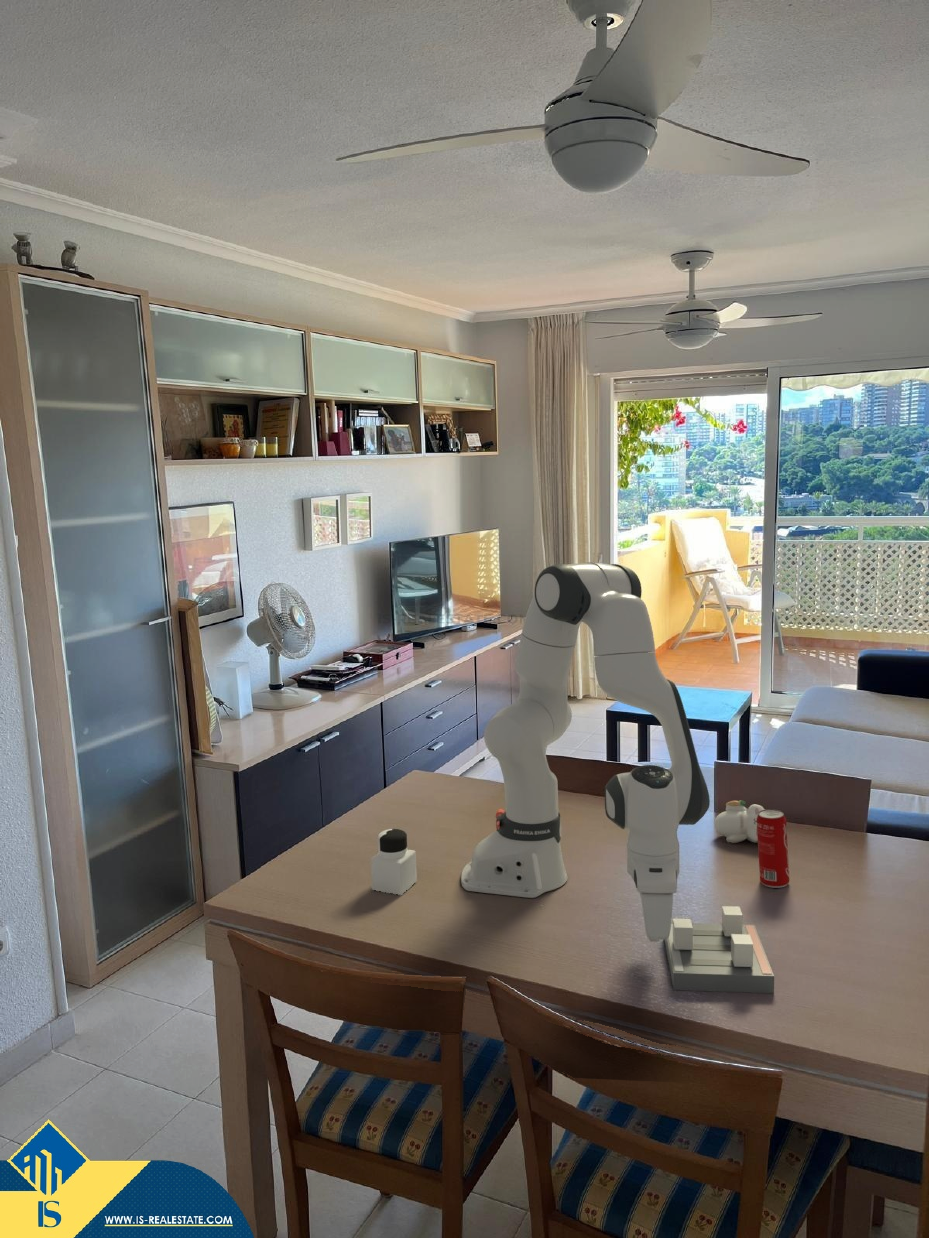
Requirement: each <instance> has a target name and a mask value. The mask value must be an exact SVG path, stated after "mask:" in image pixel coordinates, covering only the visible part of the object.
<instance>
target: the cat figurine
mask: <svg viewBox="0 0 929 1238" xmlns="http://www.w3.org/2000/svg"><path fill="white" fill-rule="evenodd" d="M725 806H726V807H725V811H722V812H721V813H719V814H718V815H717V816H716V817H715V819H714V822H713V823H714V826H713V827H714V828H715V830H716V832H717V833H719V834H720V835H721V836H724V838H726V842H727V843H729V842H732V843H731V844H737V843H741V842H743V841H745V840H747V841H750V842H751V843H757V844H758V837H757V817H758V812H760V811H762V810H766V809H765V808H764V807H763V806H762V805H759V804H751V805H750V806H749V807H746V801H744V800H730V801H728V802H726V804H725Z"/></svg>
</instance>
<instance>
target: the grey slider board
mask: <svg viewBox="0 0 929 1238" xmlns="http://www.w3.org/2000/svg"><path fill="white" fill-rule="evenodd" d="M691 923H692V922H691ZM692 927H693V950H682V949H675V948H674V943H673V922H671V930H670V935H669V937H668V939H663V940H664V944H665V951H666V956H667V962H668V969H669V974H670V979H671V984H672V989H673V991H696V992H697V991H698V992H700V991H701V992H726V993H729V992H730V993H731V992H732V993H755V994H757V993H758V994H775V974H774V972H773V969H772V967H771V965H770V962H769V958H768V957H767V956H768V955H767V953H766V951H765V949H764V946H763V944H762V943H763V942H762V940H761V938H760V936H759V933H758V931H757V928H756V925H755V924H742V934H746V935H750V937H751V940H752V942H753V967H737V966H734V964H733V961H732V958H731V936H725V935H724V932H723V929H722V923H692Z"/></svg>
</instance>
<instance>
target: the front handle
mask: <svg viewBox="0 0 929 1238" xmlns="http://www.w3.org/2000/svg"><path fill="white" fill-rule="evenodd" d="M731 958H732V961H733V964H734V966H737V967H753V942H752V940H751V937H750V935H746V934H731Z"/></svg>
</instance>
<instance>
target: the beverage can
mask: <svg viewBox="0 0 929 1238" xmlns="http://www.w3.org/2000/svg"><path fill="white" fill-rule="evenodd" d="M784 813H785V812H783V811H781V810H779V809H774V808H773V809H771V808H769V809H765V810H762V811H760V812H758V817H757V837H758V842H757V849H758V850H757V851H758V853H757V854H758V867H759V868H758V869H759V881H760V884H762V885H764V886H765V887H769V888H774V889H775V888H777V889H778V888H779V889H780V888H784V887H787V886H788V884H789V883H790V863H789V847H788V830H787V829H788V828H787V818H786V817H785V814H784Z"/></svg>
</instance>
